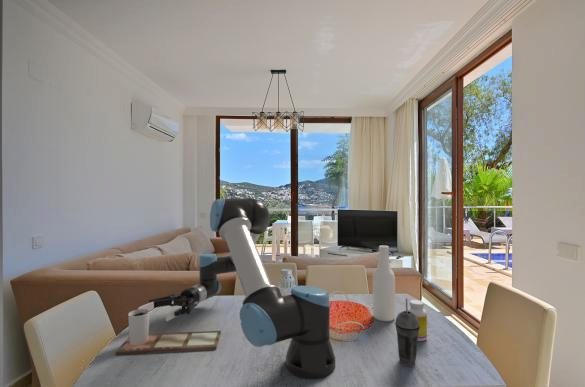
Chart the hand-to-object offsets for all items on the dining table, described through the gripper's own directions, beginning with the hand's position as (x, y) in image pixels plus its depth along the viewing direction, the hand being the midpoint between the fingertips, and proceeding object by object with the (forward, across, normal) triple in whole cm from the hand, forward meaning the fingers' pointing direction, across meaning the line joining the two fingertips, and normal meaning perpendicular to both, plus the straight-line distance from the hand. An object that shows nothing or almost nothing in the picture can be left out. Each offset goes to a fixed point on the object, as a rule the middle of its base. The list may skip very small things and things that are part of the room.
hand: (152, 314), depth 112 cm
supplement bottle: (-38, -88, -9) cm, 96 cm away
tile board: (0, -9, -9) cm, 13 cm away
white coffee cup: (+5, 0, -8) cm, 9 cm away
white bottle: (-52, -74, -9) cm, 91 cm away
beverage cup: (-20, -85, -9) cm, 88 cm away
